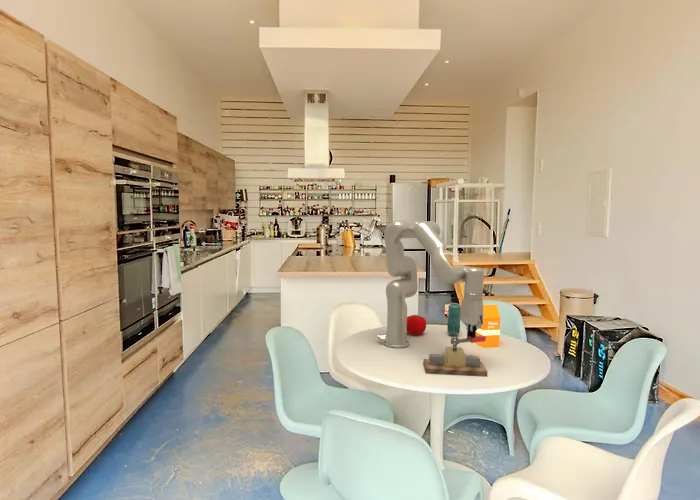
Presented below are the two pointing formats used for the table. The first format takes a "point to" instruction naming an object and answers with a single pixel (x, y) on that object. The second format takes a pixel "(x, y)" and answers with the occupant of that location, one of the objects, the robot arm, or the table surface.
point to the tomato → (416, 324)
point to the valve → (454, 358)
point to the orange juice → (490, 327)
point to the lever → (468, 339)
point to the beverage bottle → (454, 317)
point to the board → (454, 370)
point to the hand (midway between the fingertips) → (471, 339)
